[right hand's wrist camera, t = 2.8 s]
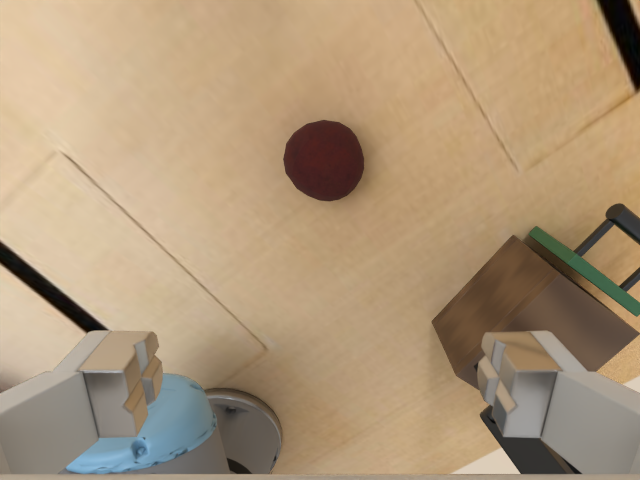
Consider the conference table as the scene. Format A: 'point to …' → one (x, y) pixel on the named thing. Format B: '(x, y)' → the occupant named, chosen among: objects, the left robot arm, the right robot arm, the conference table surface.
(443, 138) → the conference table surface
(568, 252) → the drawer
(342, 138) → the dark red ball
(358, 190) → the conference table surface
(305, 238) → the conference table surface
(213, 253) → the conference table surface
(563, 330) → the brown wooden drawer cabinet
